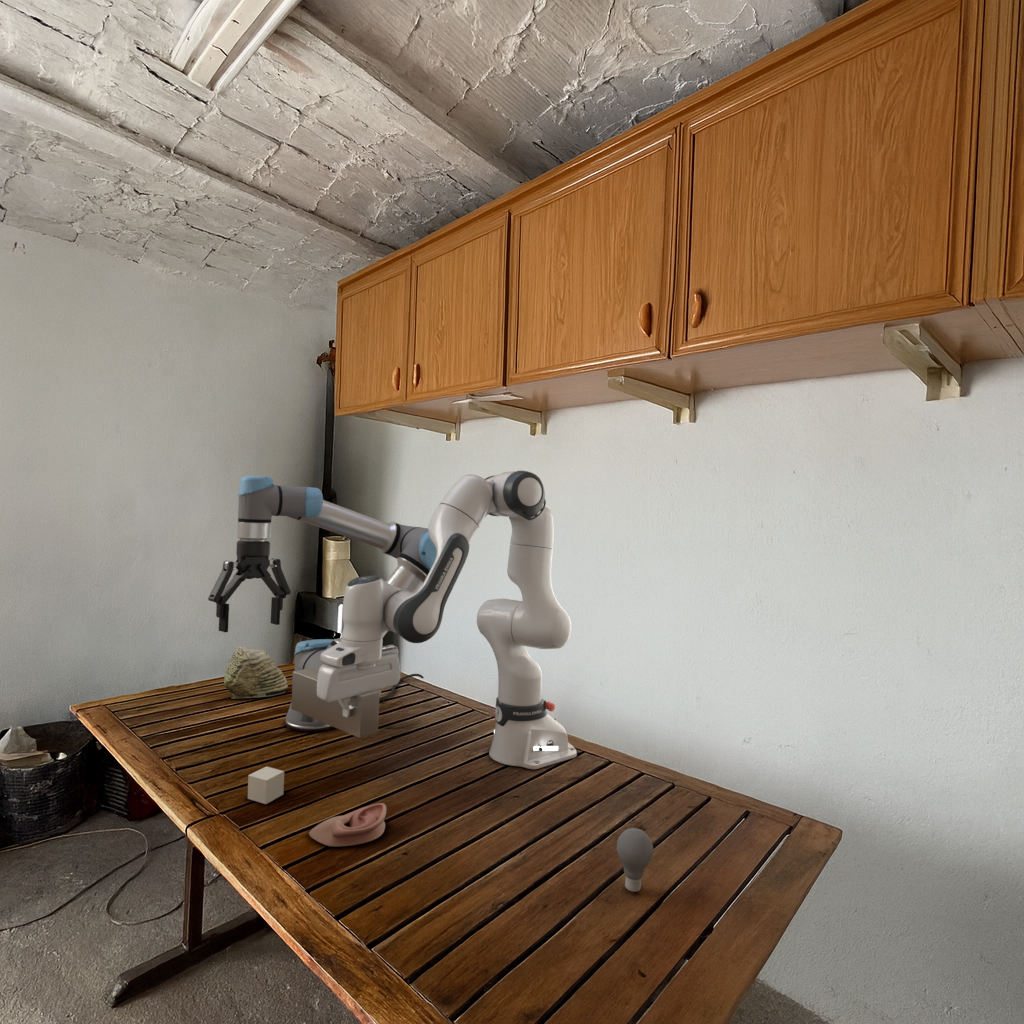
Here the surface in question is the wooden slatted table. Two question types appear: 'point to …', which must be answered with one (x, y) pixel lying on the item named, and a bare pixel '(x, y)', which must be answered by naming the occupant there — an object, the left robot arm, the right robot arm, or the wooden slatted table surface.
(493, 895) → the wooden slatted table surface
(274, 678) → the fossil
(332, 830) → the anatomical model
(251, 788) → the plastic block
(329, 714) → the beam
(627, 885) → the light bulb
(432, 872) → the wooden slatted table surface
